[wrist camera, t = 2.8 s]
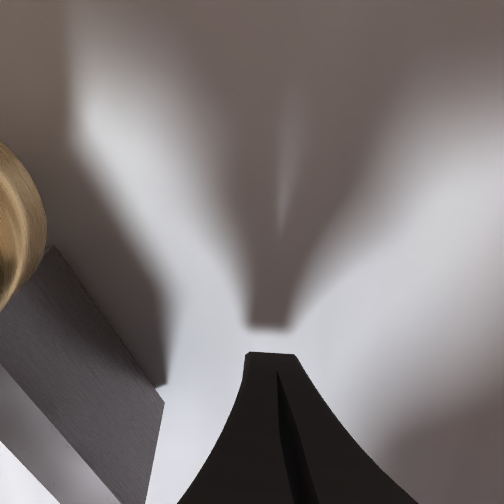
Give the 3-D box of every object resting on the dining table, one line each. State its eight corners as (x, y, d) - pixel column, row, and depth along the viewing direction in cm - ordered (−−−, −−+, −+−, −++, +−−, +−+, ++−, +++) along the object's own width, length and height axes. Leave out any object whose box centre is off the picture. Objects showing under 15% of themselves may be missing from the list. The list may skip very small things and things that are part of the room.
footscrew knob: (-152, 142, 11) (-356, 192, 7) (4, 58, 10) (-129, 64, 6) (87, 432, 14) (39, 560, 11) (210, 385, 14) (202, 504, 10)
